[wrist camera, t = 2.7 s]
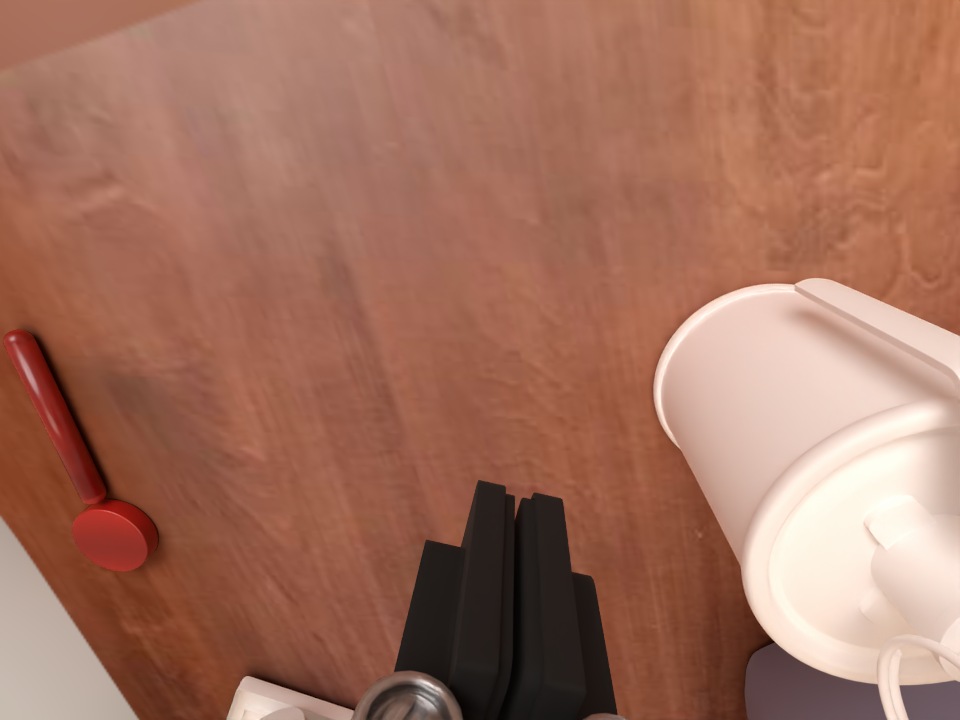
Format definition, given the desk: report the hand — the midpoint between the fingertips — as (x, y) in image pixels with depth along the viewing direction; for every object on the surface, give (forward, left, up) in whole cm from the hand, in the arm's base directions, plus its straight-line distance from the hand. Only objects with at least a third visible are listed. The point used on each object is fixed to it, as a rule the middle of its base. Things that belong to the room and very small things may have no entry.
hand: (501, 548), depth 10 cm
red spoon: (+14, -21, -15) cm, 29 cm away
